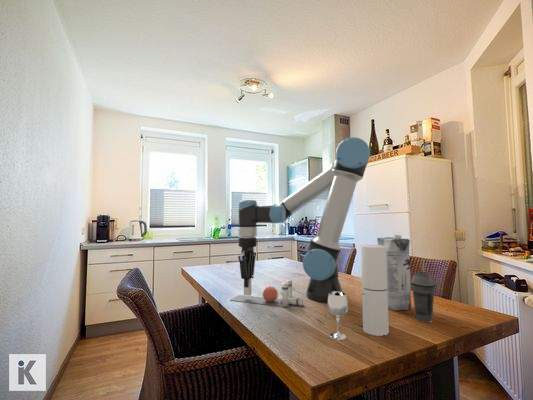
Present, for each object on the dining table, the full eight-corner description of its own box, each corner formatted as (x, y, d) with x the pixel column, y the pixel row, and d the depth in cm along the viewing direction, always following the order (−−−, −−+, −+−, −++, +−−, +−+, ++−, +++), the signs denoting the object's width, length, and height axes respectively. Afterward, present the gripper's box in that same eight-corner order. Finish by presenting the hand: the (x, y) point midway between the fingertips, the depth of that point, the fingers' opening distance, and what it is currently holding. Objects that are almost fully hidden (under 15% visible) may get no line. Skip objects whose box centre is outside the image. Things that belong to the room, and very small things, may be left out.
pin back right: (292, 301, 111) (292, 280, 112) (291, 303, 109) (291, 281, 109) (286, 300, 112) (286, 279, 112) (285, 302, 110) (284, 280, 110)
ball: (273, 281, 114) (263, 291, 115) (268, 285, 108) (257, 294, 109) (282, 293, 112) (272, 302, 113) (278, 297, 106) (267, 307, 108)
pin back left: (289, 305, 106) (289, 282, 107) (287, 307, 104) (287, 284, 104) (283, 304, 107) (283, 282, 108) (281, 306, 105) (281, 283, 105)
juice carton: (394, 312, 98) (391, 235, 100) (376, 303, 108) (374, 234, 110) (415, 310, 100) (413, 235, 102) (395, 301, 110) (393, 233, 112)
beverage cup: (430, 316, 94) (428, 256, 96) (441, 324, 87) (439, 260, 88) (408, 315, 95) (406, 256, 96) (417, 323, 88) (415, 259, 89)
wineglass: (325, 332, 81) (324, 291, 82) (344, 331, 82) (343, 290, 82) (331, 341, 76) (330, 296, 76) (351, 340, 76) (351, 296, 77)
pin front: (282, 302, 110) (303, 304, 107) (280, 304, 108) (301, 306, 105) (282, 296, 110) (303, 298, 107) (280, 297, 108) (301, 299, 105)
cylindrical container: (377, 337, 78) (374, 247, 79) (357, 328, 84) (356, 245, 86) (394, 332, 81) (391, 246, 82) (374, 324, 87) (372, 244, 89)
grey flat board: (292, 301, 111) (292, 300, 111) (286, 307, 104) (286, 306, 104) (238, 295, 120) (238, 294, 120) (230, 300, 112) (230, 300, 112)
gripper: (246, 235, 123) (246, 289, 122) (232, 238, 111) (232, 298, 109) (261, 236, 120) (261, 291, 119) (249, 238, 108) (249, 300, 107)
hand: (247, 294), depth 114 cm, fingers closed
